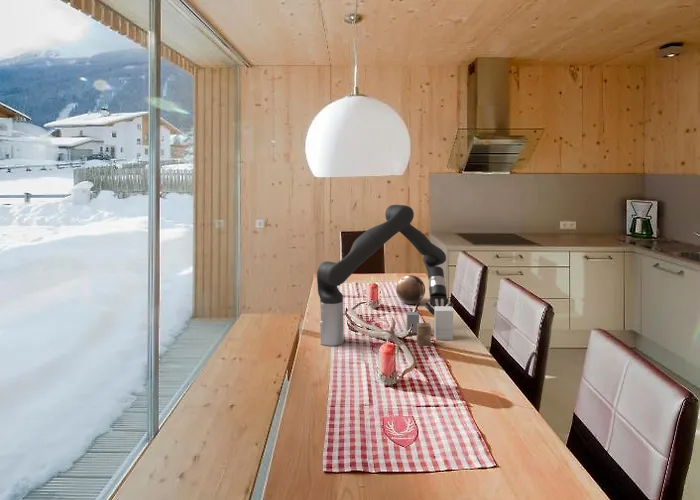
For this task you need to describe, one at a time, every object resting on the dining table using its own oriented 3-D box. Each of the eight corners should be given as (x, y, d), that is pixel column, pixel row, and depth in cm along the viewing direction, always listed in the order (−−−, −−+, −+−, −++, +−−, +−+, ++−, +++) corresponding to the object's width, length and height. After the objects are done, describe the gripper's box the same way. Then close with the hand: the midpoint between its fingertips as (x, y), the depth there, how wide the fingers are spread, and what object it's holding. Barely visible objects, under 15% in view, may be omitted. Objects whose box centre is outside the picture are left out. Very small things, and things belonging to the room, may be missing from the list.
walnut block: (418, 345, 211) (418, 326, 210) (416, 341, 216) (417, 322, 215) (430, 345, 211) (430, 326, 210) (429, 341, 216) (429, 322, 215)
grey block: (407, 332, 228) (407, 314, 227) (406, 329, 233) (406, 311, 232) (419, 332, 228) (419, 314, 227) (417, 329, 233) (418, 311, 231)
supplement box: (451, 334, 224) (451, 305, 222) (453, 340, 217) (453, 310, 215) (433, 334, 225) (434, 305, 223) (434, 340, 218) (435, 310, 216)
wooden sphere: (390, 302, 281) (390, 274, 278) (414, 298, 288) (414, 271, 285) (406, 308, 268) (406, 279, 265) (430, 304, 275) (431, 276, 272)
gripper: (423, 283, 235) (426, 318, 225) (453, 283, 235) (457, 318, 224) (422, 292, 241) (424, 326, 231) (451, 292, 241) (455, 326, 230)
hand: (440, 322), depth 228 cm, fingers closed
